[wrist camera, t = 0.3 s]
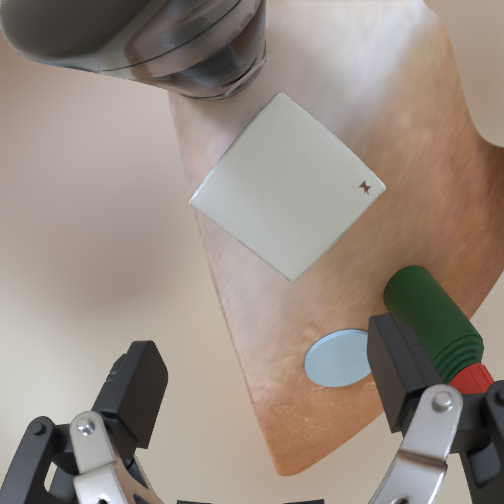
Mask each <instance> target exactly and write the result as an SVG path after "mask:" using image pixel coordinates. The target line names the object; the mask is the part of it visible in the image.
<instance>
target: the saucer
mask: <svg viewBox="0 0 504 504" xmlns="http://www.w3.org/2000/svg"><path fill="white" fill-rule="evenodd" d="M367 337H368V332H365V331H362V330H355V329H349V330H342V331H338V332H334V333H332V334H329V335H327V336H325V337H323V338H322V339H320V340H319V341H317V342H316V343H315V344H314V345H313V346H312V347H311V348H310V350H309V351H308V353H307V355H306V357H305V361H304V366H305V372H306V374H307V376H308V378H309V379H310V380H311V381H313V382H314V383H316V384H318V385H321V386H325V387H341V386H346V385H350V384H353V383H355V382H357V381H359V380H361V379H363V378H364V377H366V376H367V375H368V374H370V373H371V369H370V366H369V363H368V359H367Z"/></svg>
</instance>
